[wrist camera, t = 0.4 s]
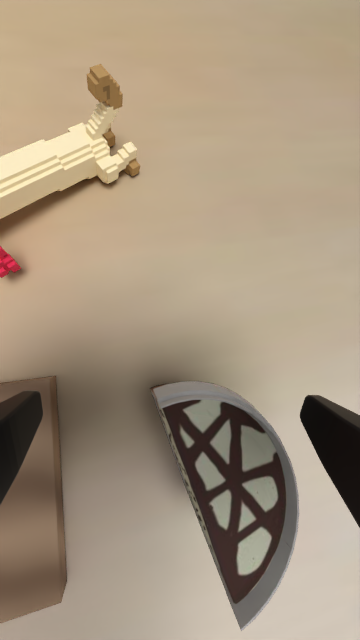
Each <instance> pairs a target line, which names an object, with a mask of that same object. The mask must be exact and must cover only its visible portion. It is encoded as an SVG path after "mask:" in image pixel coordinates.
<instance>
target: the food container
mask: <svg viewBox="0 0 360 640" xmlns="http://www.w3.org/2000/svg"><path fill="white" fill-rule="evenodd" d="M150 390H151V393H152V396H153V398H154V401H155V404H156V407H157V409H158V412H159V415H160V418H161V421H162V423H163V426H164V429H165V432H166V435H167V437H168V440H169V443H170V446H171V448H172V451H173V454H174V457H175V460H176V462H177V465H178V468H179V471H180V473H181V476H182V479H183V482H184V485H185V487H186V490H187V492H188V495H189V498H190V500H191V503H192V505H193V508H194V510H195V513H196V516H197V518H198V521H199V523H200V526H201V528H202V531H203V534H204V536H205V539H206V541H207V544H208V547H209V549H210V552H211V554H212V557H213V559H214V562H215V565H216V567H217V570H218V572H219V575H220V577H221V580H222V583H223V585H224V588H225V590H226V594H227V596H228V599H229V601H230V604H231V606H232V609H233V612H234V614H235V617H236V619H237V621H238V624H239V626H240V629H241V631H242V630H243V629H244V628H245V627H246V626H248V625H249V624H250V623H251V622H252V621H253V620H254V619H255V618H256V617H257V616H258V615H259V613H260V612H261V611H262V610H263V609H264V607H265V606H266V605H267V604H268V602H269V601H270V599H271V598H272V596H273V595H274V593H275V591H276V590H277V588H278V587H279V585H280V583H281V580H282V578H283V576H284V574H285V572H286V570H287V568H288V565H289V562H290V559H291V556H292V553H293V550H294V545H295V540H296V536H297V530H298V519H299V499H298V490H297V483H296V478H295V474H294V471H293V468H292V464H291V461H290V459H289V457H288V455H287V453H286V450H285V448H284V446H283V444H282V442H281V440H280V438H279V437H278V435H277V434H276V432H275V431H274V429H273V427H272V426H271V425H270V424H269V423H268V422H267V420H266V419H265V418H264V417H263V416H262V415H261V414H260V413H259V412H258V411H257V410H256V409H255V408H254V407H253V406H252V405H251V404H250V403H249V402H248V401H246V400H245V399H244V398H243V397H241V396H240V395H238V394H237V393H235V392H233V391H231V390H229V389H227V388H225V387H222V386H219V385H216V384H212V383H206V382H200V381H183V382H177V383H171V384H163V385H158V386H155V387H152V388H150Z"/></svg>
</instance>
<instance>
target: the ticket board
mask: <svg viewBox="0 0 360 640" xmlns="http://www.w3.org/2000/svg"><path fill="white" fill-rule="evenodd" d="M25 390H37V391H39V392H40V394H41V399H42V407H43V417H42V420H41V423H40V425H39V427H38V429H37V432H36V434H35V436H34V439H33V441H32V443H31V445H30V448H29V450H28V452H27V455H26V457H25V459H24V462H23V464H22V466H21V468H20V470H19V472H18V474H17V476H16V478H15V480H14V481H13V483H12V485H11V487H10V489H9V491H8V492H7V494H6V496H5V498H4V500H3V501H2V503H1V505H0V623H3V622H6V621H9V620H11V619H14V618H17V617H20V616H23V615H26V614H29V613H32V612H35V611H38V610H41V609H44V608H47V607H49V606H52V605H55V604H58V603H61V601H62V597H63V593H64V590H65V586H66V582H67V576H66V558H65V539H64V520H63V502H62V483H61V465H60V446H59V427H58V409H57V390H56V376H51V377H44V378H36V379H28V380H20V381H13V382H5V383H0V403H1V402H3V401H5V400H6V399H8V398H10V397H12V396H14V395H16V394H18V393H20V392H22V391H25Z"/></svg>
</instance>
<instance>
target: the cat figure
mask: <svg viewBox="0 0 360 640" xmlns="http://www.w3.org/2000/svg"><path fill="white" fill-rule="evenodd" d="M87 83H88V90H89V91H90V92H91V93H92V95H93V96H94V97H95V98H96V99H98V101H99V104H97V105H96V107H97V109H95V110H94V114H93V115H91V120H88V124H86V125H84V124H83V123H80V124H78V125H75V126H73V127H70V128H68V133H66V134H63V135H61V136H59V137H56V138H54V139H52V140H49V141H47V142H45V141H44V140H43V139H42V140H40V141H37V142H35V143H33V144H30V145H28V146H25V147H23V148H21V149H18V150H16V151H13V152H11V153H9V154H6V155H4V156H1V157H0V219H1V218H3V217H5V216H7V215H9V214H11V213H13V212H15V211H17V210H19V209H21V208H23V207H25V206H27V205H29V204H31V203H33V202H35V201H37V200H39V199H41V198H43V197H45V196H47V195H48V194H50V193H52V192H54V191H56V190H57V191H62V190H64V189H66V188H68V187H70V186H72V185H74V184H76V183H78V182H80V181H81V180H83V179H91V178H93V177H94V176H96V175H97V176H98V177H99V178H100V179H101V180H102V181H103V183H104V182H105V183H106V184H107V183H108V184H109V183H111V182H112V181H114V180H116V179H118V175H119V172H120V171H122V170H124V171H125V172H126V173H127V175H129V174H130V175H131V176H134V175H136V174H138V173H139V169H140V165H139V164H138V162H137V161H136V154H137V149H136V148H135V146H134V145H133V144H132V143H131V142H129V143H127V144H125V145H123V148H122V149H120V150H118V153H117V154H116V155H114V156H112V157H111V156H110V147H111V146H113V145H115V135H114V134H113V133H112V131H111V123H112V122H113V118H115V117H116V113H117V112H119V108H120V107H122V93H121V92H120V86H119V85H118V84H117V82H116V81H115V80H114V79H113V77H112V76H111V75H110V74H109V73H108V72H107V71H106V70H105V68H104V67H103V66H102V65H101V64H99V65H96V66H93V67H90V73H89V74H87ZM19 269H21V268H20V266H19V265H18V264H17V263H16V261H15V260H14V259H13V258H12V257H11V256H10V255H9V254H7V253H6V252H5V251H4V250H3V249H2V247H1V246H0V277H1V278H2V277H4V276H5V275H7V274H9V273H8V272H9V271H10V270H12V271H13V272H16V271H18V270H19Z"/></svg>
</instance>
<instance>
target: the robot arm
mask: <svg viewBox="0 0 360 640" xmlns="http://www.w3.org/2000/svg"><path fill="white" fill-rule="evenodd" d="M42 417H43V407H42V399H41V394H40V392H39V391H37V390H25V391H22V392H20V393H18V394H16V395H14V396H12V397H10V398H8V399H6V400H5V401H3V402H1V403H0V505H1V503H2V501H3V500H4V498H5V496H6V494H7V492H8V491H9V489H10V487H11V485H12V483H13V481H14V480H15V478H16V476H17V474H18V472H19V470H20V468H21V466H22V464H23V462H24V459H25V457H26V455H27V452H28V450H29V448H30V445H31V443H32V441H33V439H34V436H35V434H36V432H37V429H38V427H39V425H40V423H41V420H42ZM300 419H301V422H302V424H303V426H304V428H305V430H306V432H307V434H308V436H309V438H310V440H311V442H312V444H313V446H314V448H315V450H316V453H317V455H318V457H319V459H320V461H321V462H322V464H323V466H324V468H325V470H326V472H327V473H328V475H329V477H330V478H331V480H332V482H333V483H334V485H335V487H336V488H337V490H338V492H339V494H340V495H341V497H342V499H343V500H344V502H345V504H346V505H347V507H348V509H349V510H350V512H351V514H352V516H353V517H354V519H355V521H356V522H357V524H358V526H359V527H360V415H358V414H356V413H354V412H352V411H350V410H348V409H346V408H344V407H342V406H340V405H338V404H336V403H334V402H332V401H330V400H328V399H326V398H324V397H322V396H319V395H308V396H306V397H305V400H304V403H303V406H302V409H301V412H300Z"/></svg>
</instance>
